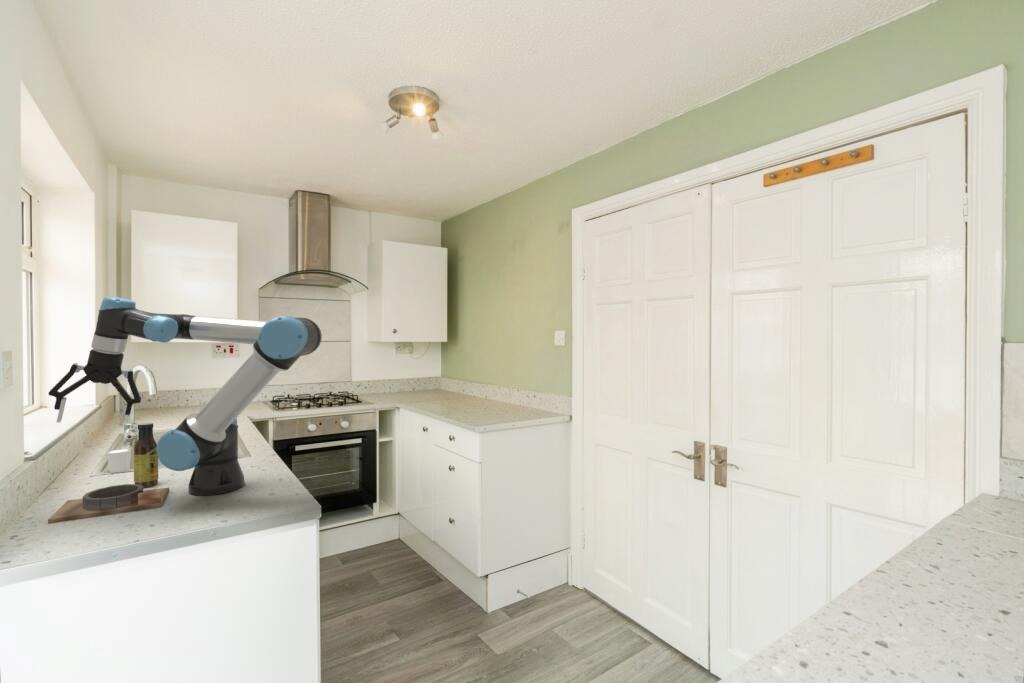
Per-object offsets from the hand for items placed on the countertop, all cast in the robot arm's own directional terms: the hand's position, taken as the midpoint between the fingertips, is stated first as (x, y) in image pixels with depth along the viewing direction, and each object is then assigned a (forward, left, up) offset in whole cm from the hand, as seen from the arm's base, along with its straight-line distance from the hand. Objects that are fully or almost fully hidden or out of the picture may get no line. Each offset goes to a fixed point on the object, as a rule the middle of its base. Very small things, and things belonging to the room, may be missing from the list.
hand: (90, 423), depth 139 cm
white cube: (+17, -35, -23) cm, 45 cm away
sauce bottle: (-4, -17, -23) cm, 29 cm away
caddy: (-7, +1, -23) cm, 24 cm away
